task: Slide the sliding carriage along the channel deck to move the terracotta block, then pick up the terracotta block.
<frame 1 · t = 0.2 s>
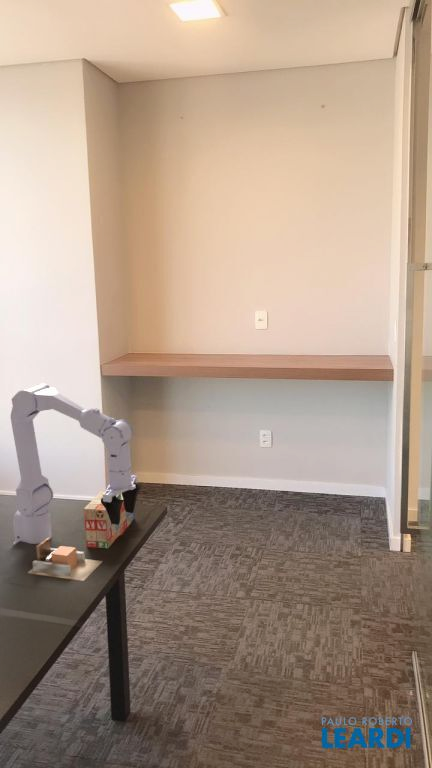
hand: (122, 517, 165), 10 cm above the table, tool pointing down, fingers open, 7 cm apart
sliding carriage: (48, 553, 159), point 4 cm above the table, slide at 0.0 cm
channel deck: (65, 570, 158), on the table
terracotta block: (65, 566, 158), point 1 cm above the table, touching channel deck
stack of blocks: (111, 535, 179), on the table
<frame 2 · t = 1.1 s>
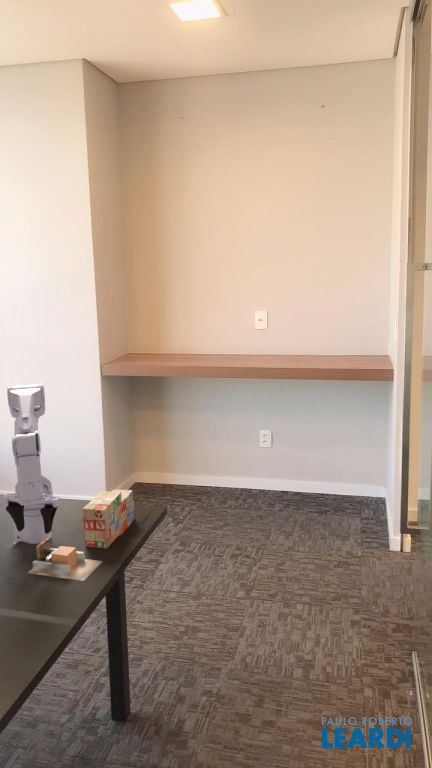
hand: (34, 530, 160), 9 cm above the table, tool pointing down, fingers open, 7 cm apart
nothing on the table moved.
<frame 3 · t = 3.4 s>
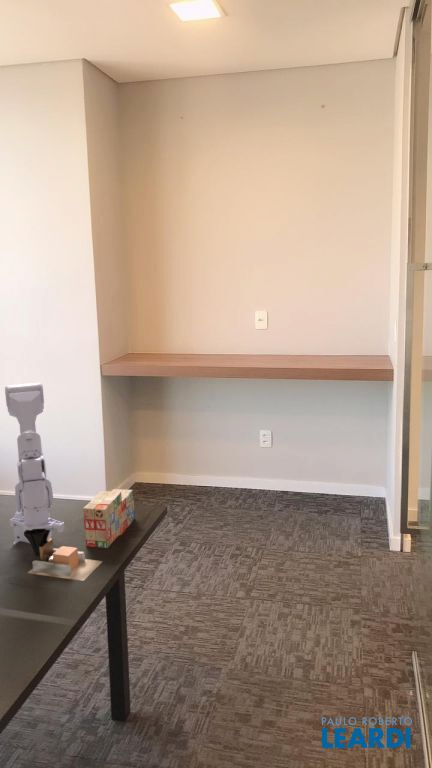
hand: (39, 554, 160), 3 cm above the table, tool pointing down, fingers closed
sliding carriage: (51, 553, 159), point 4 cm above the table, slide at 0.9 cm, touching gripper
everything else where it was.
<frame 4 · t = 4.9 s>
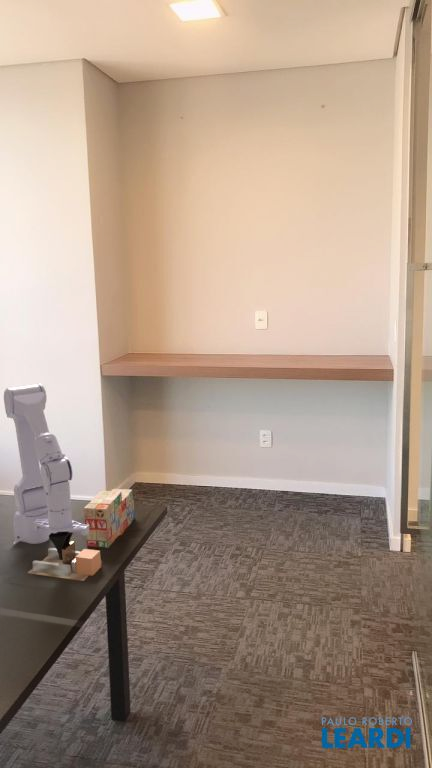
hand: (63, 558, 158), 3 cm above the table, tool pointing down, fingers closed
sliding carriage: (73, 556, 157), point 4 cm above the table, slide at 7.2 cm, touching gripper, terracotta block
terracotta block: (89, 570, 156), point 1 cm above the table, touching channel deck, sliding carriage
everything else where it was.
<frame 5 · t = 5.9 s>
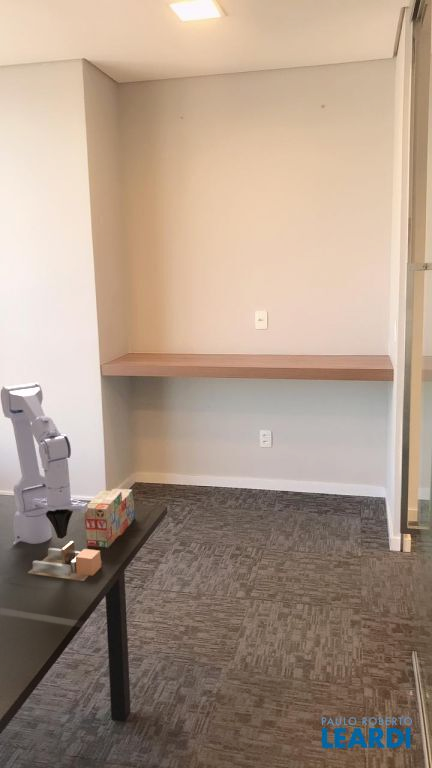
hand: (62, 536, 157), 9 cm above the table, tool pointing down, fingers closed
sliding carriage: (73, 556, 157), point 4 cm above the table, slide at 7.0 cm
terracotta block: (89, 570, 156), point 1 cm above the table, touching channel deck
everything else where it was.
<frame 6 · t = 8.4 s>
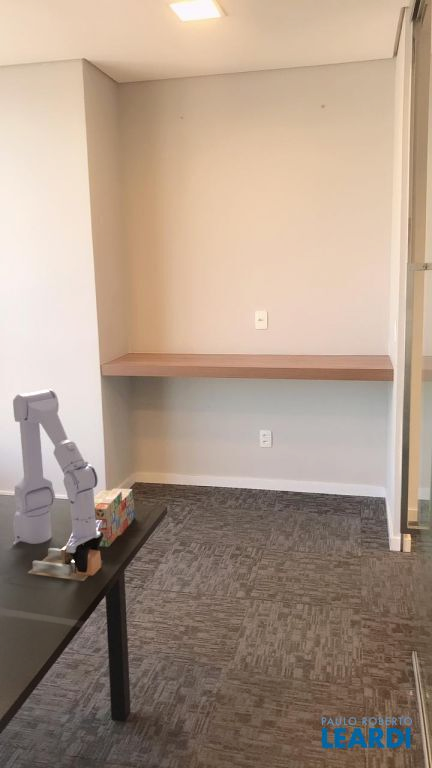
hand: (87, 566, 156), 2 cm above the table, tool pointing down, fingers closed on terracotta block, 4 cm apart
terracotta block: (89, 570, 156), point 1 cm above the table, touching channel deck, gripper
everything else where it was.
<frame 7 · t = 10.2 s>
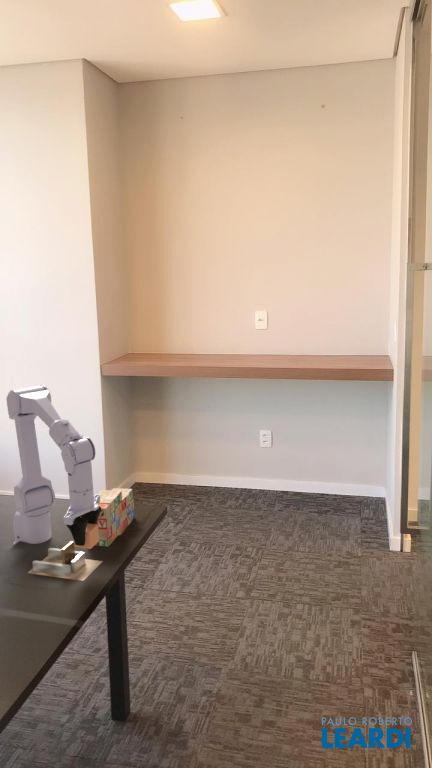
hand: (85, 540, 155), 9 cm above the table, tool pointing down, fingers closed on terracotta block, 4 cm apart
terracotta block: (86, 543, 155), point 8 cm above the table, touching gripper
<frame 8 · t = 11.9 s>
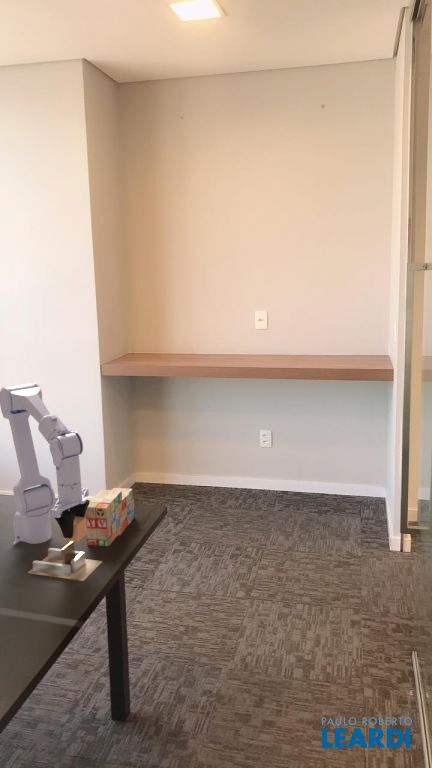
hand: (73, 533, 158), 9 cm above the table, tool pointing down, fingers closed on terracotta block, 4 cm apart
terracotta block: (75, 536, 158), point 8 cm above the table, touching gripper
at the end: the gripper is holding terracotta block; terracotta block point 8.5 cm above the table; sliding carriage slide at 7.0 cm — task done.
